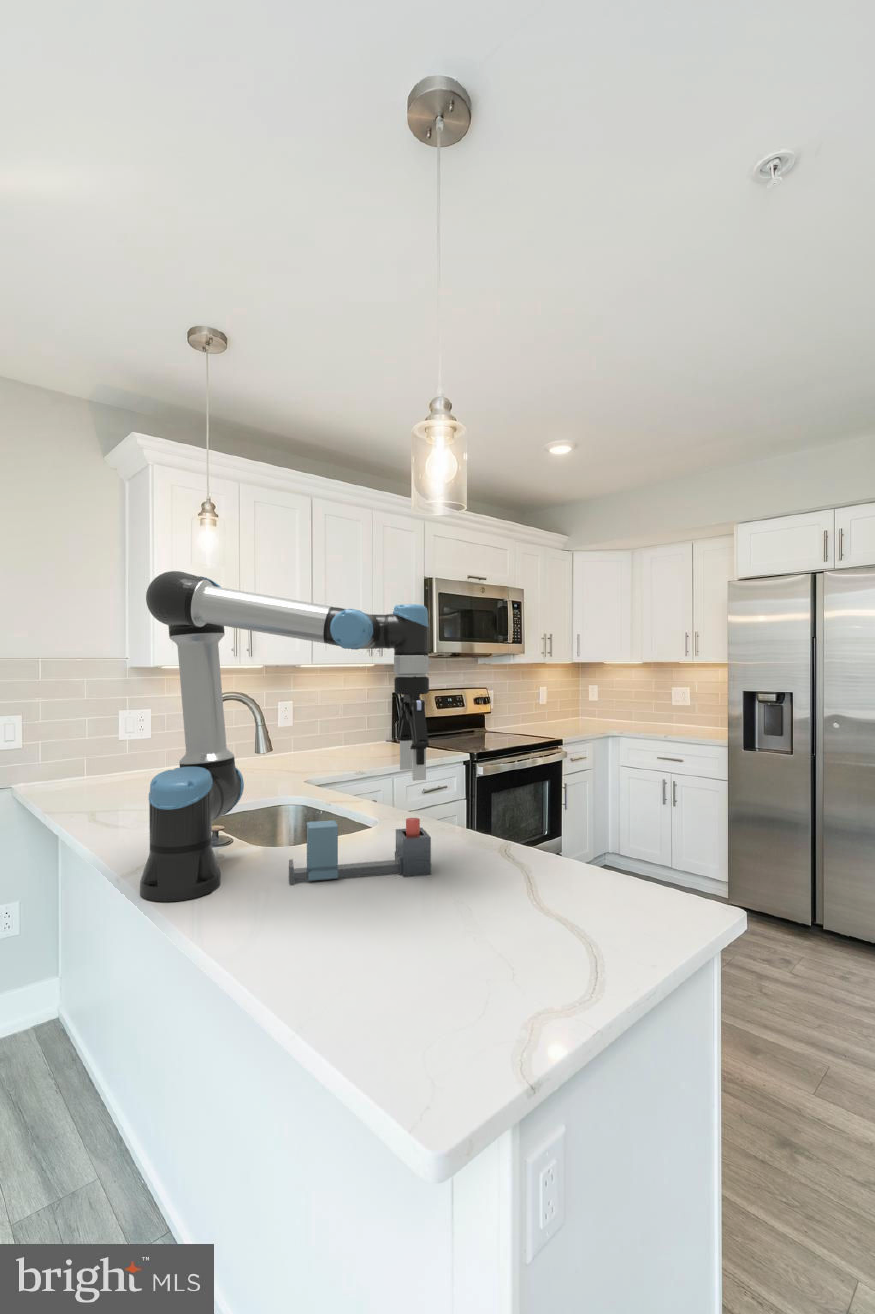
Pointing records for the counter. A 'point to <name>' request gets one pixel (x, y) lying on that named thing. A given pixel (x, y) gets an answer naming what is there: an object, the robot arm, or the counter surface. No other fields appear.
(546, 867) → the counter surface
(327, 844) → the carriage
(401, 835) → the block
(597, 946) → the counter surface
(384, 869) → the rail
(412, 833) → the cylinder
